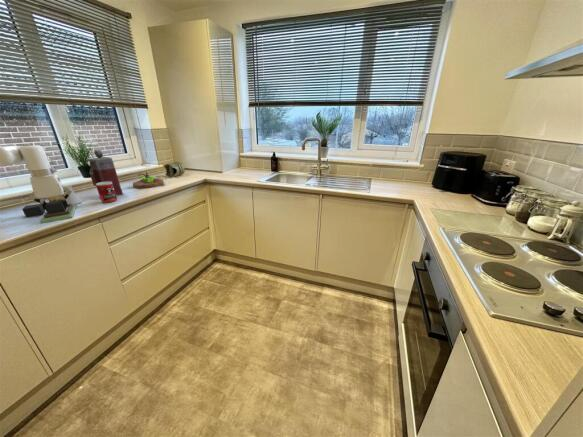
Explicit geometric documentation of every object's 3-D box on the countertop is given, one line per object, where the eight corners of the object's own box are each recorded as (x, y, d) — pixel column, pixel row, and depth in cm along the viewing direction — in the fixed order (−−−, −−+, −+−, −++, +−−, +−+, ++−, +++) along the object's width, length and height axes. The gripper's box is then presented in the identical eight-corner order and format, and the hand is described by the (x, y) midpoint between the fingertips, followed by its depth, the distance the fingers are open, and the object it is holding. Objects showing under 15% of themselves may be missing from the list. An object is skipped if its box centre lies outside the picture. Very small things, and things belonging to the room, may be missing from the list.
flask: (63, 204, 137) (56, 187, 133) (77, 200, 143) (71, 184, 139) (70, 205, 134) (63, 188, 130) (85, 201, 140) (79, 185, 136)
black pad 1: (26, 217, 118) (22, 209, 116) (29, 214, 123) (25, 205, 121) (42, 214, 121) (39, 206, 120) (45, 211, 126) (41, 203, 124)
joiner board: (41, 223, 110) (38, 218, 110) (50, 210, 127) (48, 205, 126) (72, 217, 116) (70, 212, 115) (77, 206, 133) (75, 201, 132)
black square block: (48, 214, 115) (44, 205, 113) (51, 210, 119) (47, 202, 117) (65, 211, 118) (61, 202, 116) (66, 208, 122) (63, 200, 121)
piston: (165, 177, 200) (161, 163, 196) (175, 174, 210) (172, 161, 206) (176, 178, 197) (173, 164, 192) (185, 175, 207) (183, 161, 203)
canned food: (105, 204, 136) (99, 185, 131) (99, 201, 140) (92, 183, 135) (120, 200, 142) (114, 182, 137) (113, 198, 146) (108, 180, 141)
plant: (136, 190, 163) (132, 173, 159) (131, 185, 177) (127, 170, 173) (167, 184, 175) (164, 169, 171) (160, 180, 189) (157, 166, 185)
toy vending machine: (96, 197, 150) (80, 151, 139) (115, 192, 159) (102, 148, 148) (103, 198, 145) (87, 151, 135) (123, 194, 154) (109, 149, 144)
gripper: (67, 169, 119) (80, 203, 125) (18, 174, 110) (35, 211, 116) (65, 171, 113) (78, 207, 120) (13, 177, 104) (31, 215, 111)
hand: (57, 208), depth 118 cm, fingers closed on black square block, 6 cm apart
